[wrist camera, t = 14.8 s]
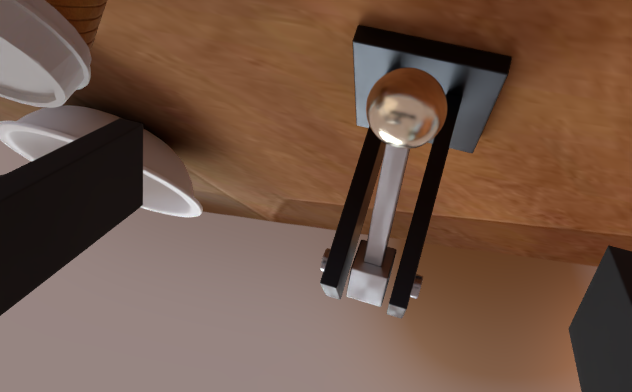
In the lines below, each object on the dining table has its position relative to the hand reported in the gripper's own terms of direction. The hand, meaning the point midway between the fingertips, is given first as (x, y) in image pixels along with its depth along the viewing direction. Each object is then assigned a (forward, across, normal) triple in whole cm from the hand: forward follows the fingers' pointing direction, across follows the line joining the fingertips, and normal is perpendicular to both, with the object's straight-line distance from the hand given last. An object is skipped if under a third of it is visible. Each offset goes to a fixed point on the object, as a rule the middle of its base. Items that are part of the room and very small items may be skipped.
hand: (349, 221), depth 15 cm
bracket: (+24, 0, -2) cm, 24 cm away
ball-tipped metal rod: (+14, 0, -5) cm, 15 cm away
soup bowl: (+40, -34, -19) cm, 56 cm away
